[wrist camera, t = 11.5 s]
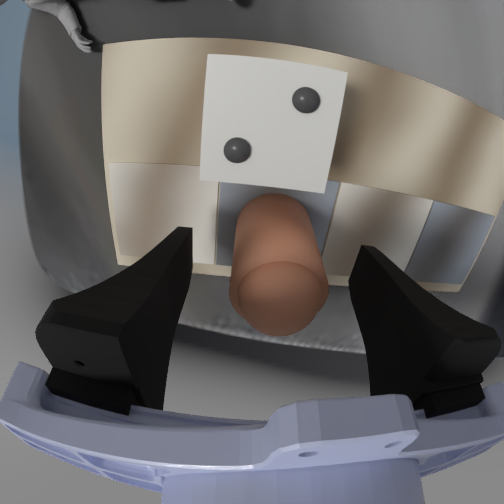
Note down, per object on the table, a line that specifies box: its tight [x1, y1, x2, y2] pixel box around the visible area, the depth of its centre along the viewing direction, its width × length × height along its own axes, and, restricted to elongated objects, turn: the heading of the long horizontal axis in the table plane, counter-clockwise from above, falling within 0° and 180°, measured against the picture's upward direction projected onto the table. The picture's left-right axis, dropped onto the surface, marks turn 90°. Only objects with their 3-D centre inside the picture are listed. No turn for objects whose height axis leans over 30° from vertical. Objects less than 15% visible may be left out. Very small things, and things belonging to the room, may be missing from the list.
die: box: [200, 54, 348, 194], centre depth 10 cm, size 4×4×4 cm
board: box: [102, 38, 504, 292], centre depth 14 cm, size 22×12×1 cm, turn 84°
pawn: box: [229, 193, 329, 336], centre depth 12 cm, size 4×4×6 cm
